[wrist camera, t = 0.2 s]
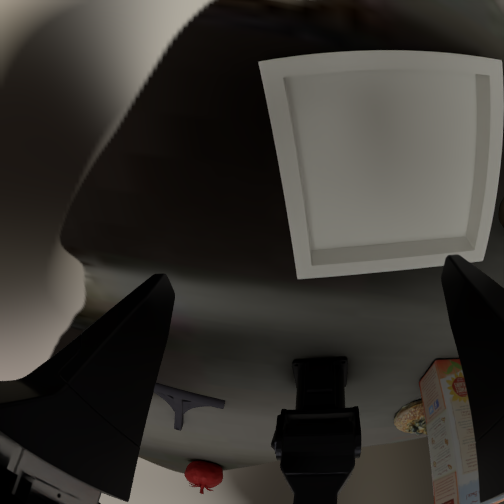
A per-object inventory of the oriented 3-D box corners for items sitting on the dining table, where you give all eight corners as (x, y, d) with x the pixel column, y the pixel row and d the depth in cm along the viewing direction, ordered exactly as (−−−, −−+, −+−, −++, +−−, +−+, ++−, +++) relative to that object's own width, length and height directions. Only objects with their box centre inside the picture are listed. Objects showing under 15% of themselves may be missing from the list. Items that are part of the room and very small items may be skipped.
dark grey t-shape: (145, 409, 54) (141, 421, 52) (136, 373, 45) (130, 387, 43) (217, 428, 54) (215, 440, 52) (226, 396, 45) (222, 412, 43)
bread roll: (464, 402, 40) (466, 428, 36) (414, 421, 47) (413, 445, 44) (433, 386, 38) (435, 416, 34) (379, 407, 45) (377, 434, 42)
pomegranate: (197, 454, 67) (189, 486, 59) (231, 466, 69) (225, 496, 61) (182, 460, 72) (175, 488, 65) (214, 470, 74) (208, 498, 67)
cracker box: (416, 382, 37) (431, 524, 20) (435, 357, 33) (460, 515, 17) (489, 377, 36) (514, 497, 19) (509, 353, 32) (544, 481, 15)
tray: (470, 240, 24) (483, 260, 21) (298, 256, 27) (297, 279, 25) (480, 56, 15) (501, 60, 12) (263, 60, 18) (258, 61, 16)
